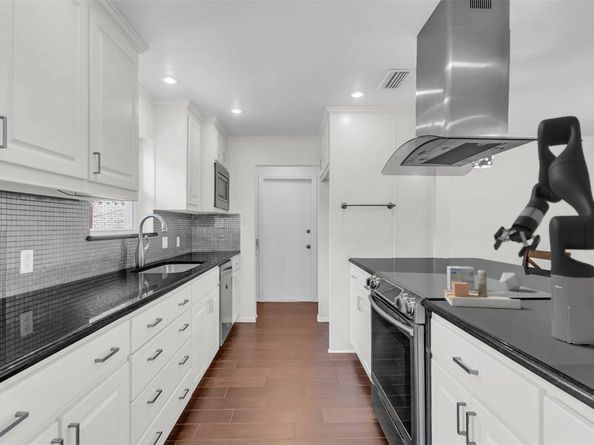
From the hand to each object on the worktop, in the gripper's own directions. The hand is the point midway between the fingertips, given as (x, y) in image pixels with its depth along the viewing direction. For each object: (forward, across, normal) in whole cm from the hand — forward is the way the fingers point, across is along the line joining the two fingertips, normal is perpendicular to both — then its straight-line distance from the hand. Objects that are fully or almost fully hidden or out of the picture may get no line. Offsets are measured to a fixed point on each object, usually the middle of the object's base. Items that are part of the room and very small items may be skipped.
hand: (507, 252), depth 124 cm
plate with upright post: (+20, -7, +9) cm, 23 cm away
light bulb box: (+10, -20, +27) cm, 35 cm away
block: (+21, -9, +7) cm, 24 cm away
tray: (+19, -3, +11) cm, 22 cm away
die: (-4, -6, +37) cm, 38 cm away
